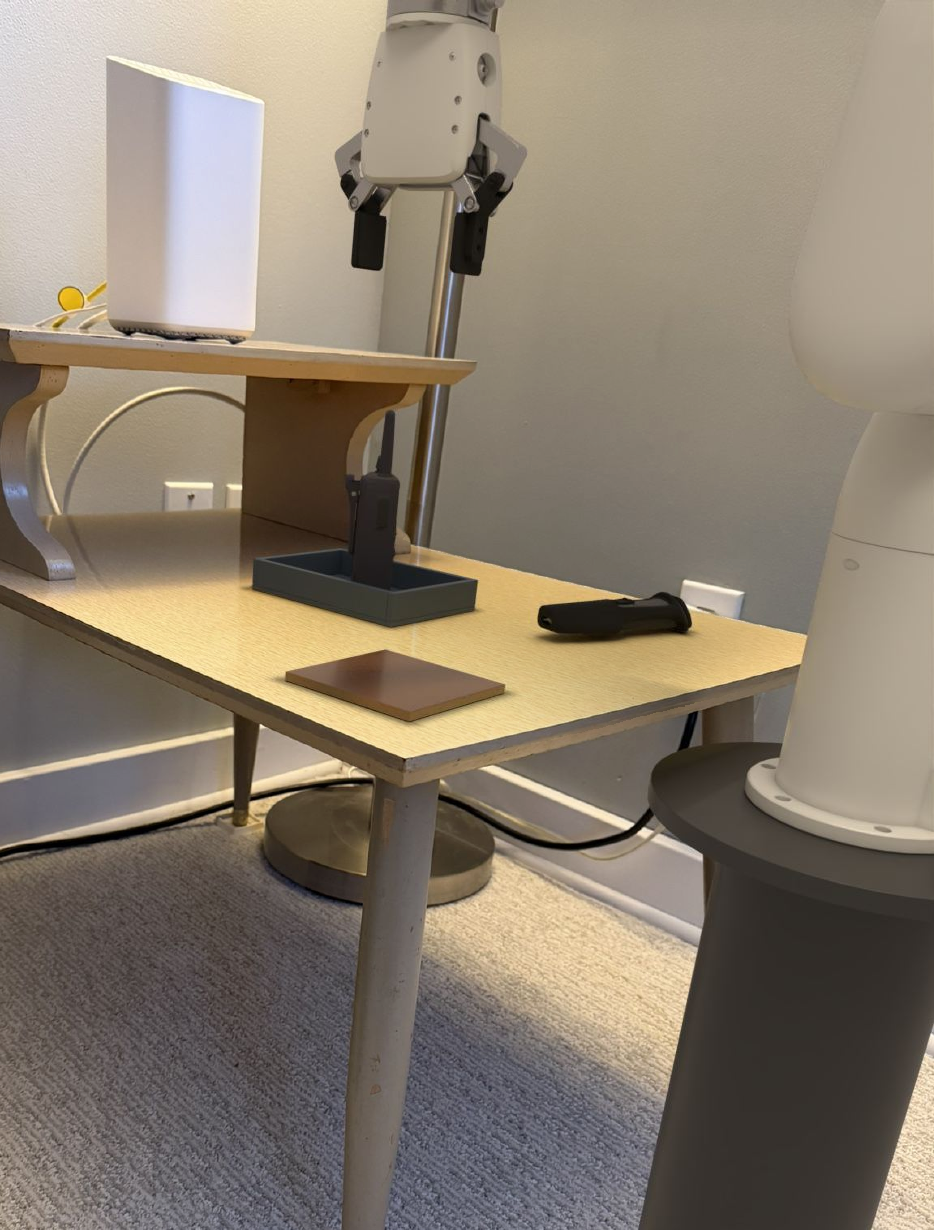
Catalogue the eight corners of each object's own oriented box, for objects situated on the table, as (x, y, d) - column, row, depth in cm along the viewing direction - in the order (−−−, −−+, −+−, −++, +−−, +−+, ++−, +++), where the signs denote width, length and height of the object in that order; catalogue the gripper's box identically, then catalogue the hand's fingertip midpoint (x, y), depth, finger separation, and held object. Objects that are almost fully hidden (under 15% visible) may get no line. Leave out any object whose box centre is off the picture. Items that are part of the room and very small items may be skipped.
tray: (474, 610, 97) (478, 579, 96) (391, 627, 89) (394, 593, 88) (338, 576, 106) (341, 547, 105) (251, 588, 98) (253, 558, 97)
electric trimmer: (521, 637, 90) (526, 597, 89) (660, 622, 99) (666, 585, 97) (554, 650, 87) (560, 608, 86) (694, 633, 96) (701, 595, 95)
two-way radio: (392, 603, 95) (410, 412, 90) (338, 600, 95) (353, 407, 89) (386, 589, 100) (402, 408, 95) (334, 586, 100) (348, 403, 95)
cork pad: (504, 693, 75) (505, 684, 74) (408, 721, 67) (409, 712, 67) (384, 657, 81) (385, 649, 80) (284, 680, 73) (285, 671, 73)
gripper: (570, 13, 81) (535, 281, 87) (381, 34, 91) (361, 271, 97) (509, -16, 75) (476, 271, 81) (315, 9, 86) (299, 262, 92)
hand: (414, 271), depth 89 cm, fingers open, 9 cm apart
